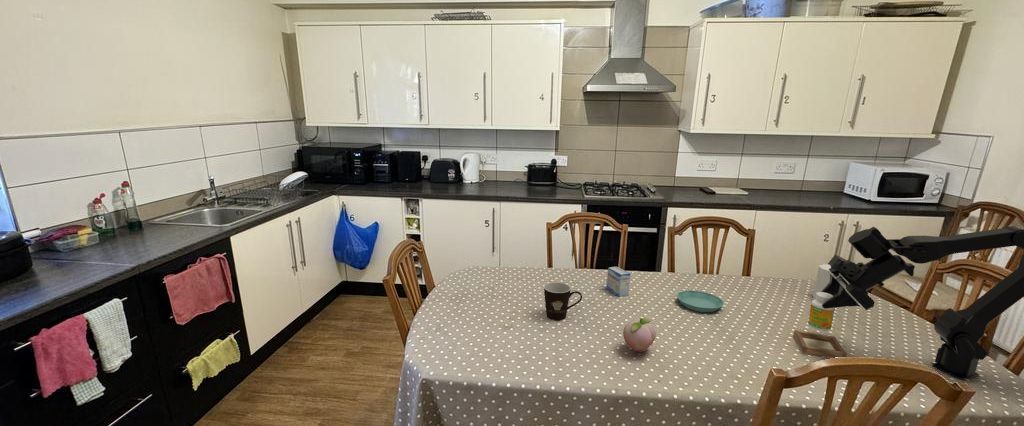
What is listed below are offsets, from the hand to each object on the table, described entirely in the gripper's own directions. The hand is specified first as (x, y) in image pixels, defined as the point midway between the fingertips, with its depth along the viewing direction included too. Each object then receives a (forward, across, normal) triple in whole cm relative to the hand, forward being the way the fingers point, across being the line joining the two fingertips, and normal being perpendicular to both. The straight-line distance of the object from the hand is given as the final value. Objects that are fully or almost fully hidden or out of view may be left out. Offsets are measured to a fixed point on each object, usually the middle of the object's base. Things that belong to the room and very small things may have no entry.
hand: (820, 302), depth 118 cm
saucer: (+30, -16, -12) cm, 36 cm away
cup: (+1, -39, +19) cm, 43 cm away
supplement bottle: (+5, 0, +6) cm, 7 cm away
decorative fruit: (+42, +23, -24) cm, 53 cm away
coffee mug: (+59, +12, -42) cm, 74 cm away
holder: (+8, +1, +10) cm, 13 cm away
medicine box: (+50, -15, -32) cm, 61 cm away
